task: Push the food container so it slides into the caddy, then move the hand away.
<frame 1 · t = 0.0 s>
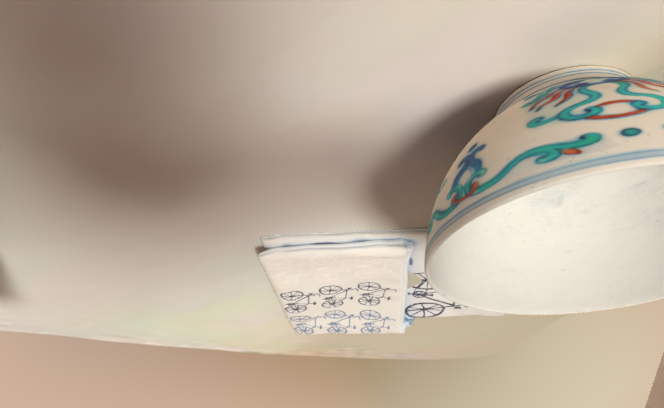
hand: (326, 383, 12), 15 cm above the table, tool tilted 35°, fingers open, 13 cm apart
chinaware: (563, 108, 30), on the table
white flat piece: (402, 272, 49), on the table
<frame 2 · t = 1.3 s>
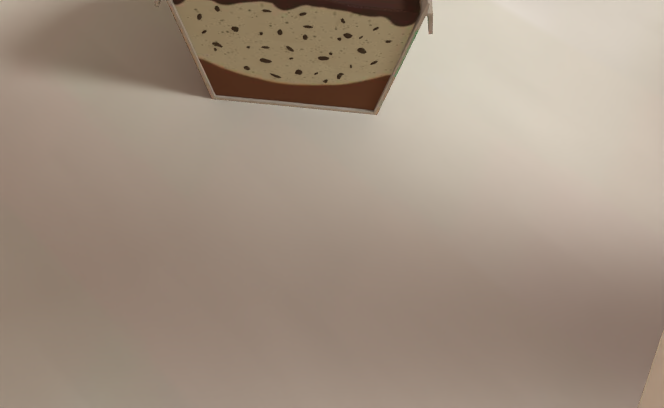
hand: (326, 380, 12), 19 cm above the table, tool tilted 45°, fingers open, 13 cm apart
food container: (299, 62, 36), on the table
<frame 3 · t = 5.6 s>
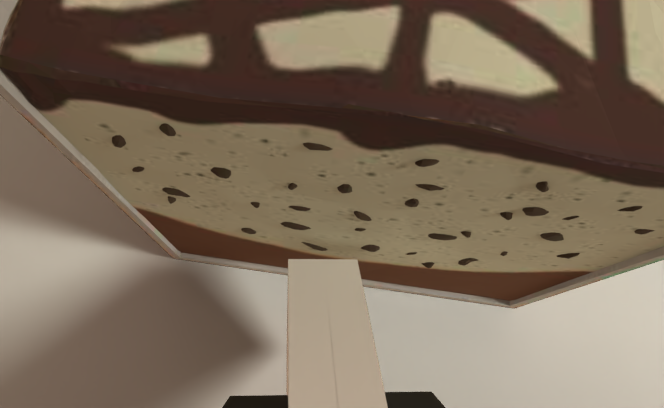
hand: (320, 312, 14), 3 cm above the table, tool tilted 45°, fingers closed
food container: (357, 181, 18), on the table, touching gripper
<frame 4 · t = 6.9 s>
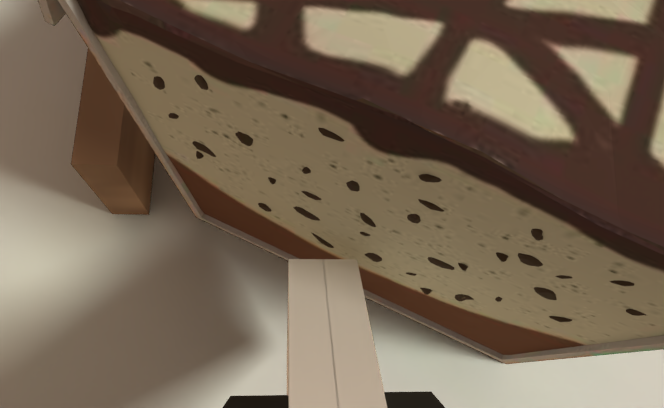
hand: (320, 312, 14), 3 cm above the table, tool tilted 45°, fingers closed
food container: (390, 197, 18), on the table, touching gripper
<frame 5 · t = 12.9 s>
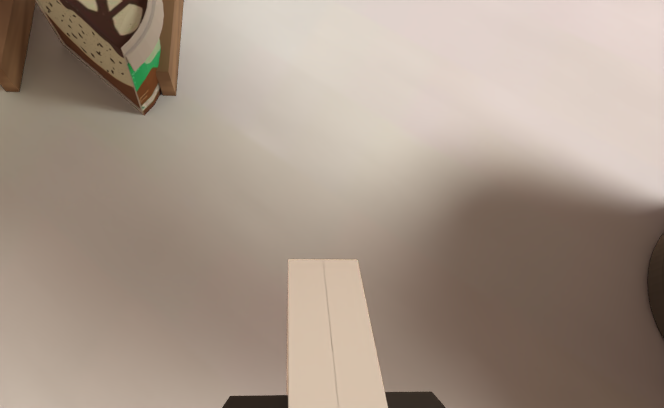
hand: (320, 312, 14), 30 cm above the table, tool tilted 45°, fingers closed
caddy: (103, 4, 51), on the table
food container: (132, 57, 50), on the table
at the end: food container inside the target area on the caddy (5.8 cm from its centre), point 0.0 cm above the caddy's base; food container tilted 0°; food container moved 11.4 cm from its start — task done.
